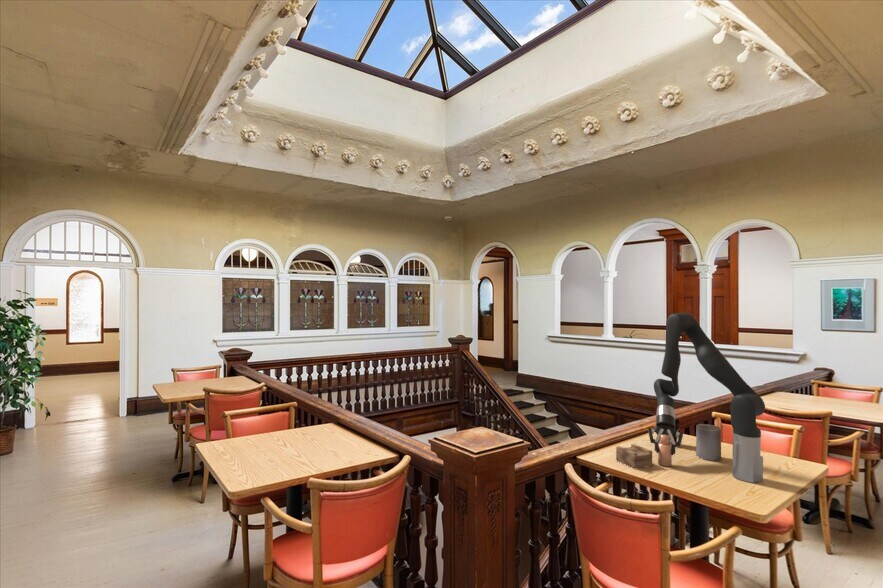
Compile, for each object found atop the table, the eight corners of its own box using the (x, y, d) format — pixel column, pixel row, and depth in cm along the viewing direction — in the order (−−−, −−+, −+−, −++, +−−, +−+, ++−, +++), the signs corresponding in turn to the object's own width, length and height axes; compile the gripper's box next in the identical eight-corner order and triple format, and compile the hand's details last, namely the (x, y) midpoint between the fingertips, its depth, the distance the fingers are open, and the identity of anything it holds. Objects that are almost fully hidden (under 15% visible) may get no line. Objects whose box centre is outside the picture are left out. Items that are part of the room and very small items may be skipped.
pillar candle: (710, 453, 211) (710, 420, 211) (726, 461, 201) (726, 426, 201) (691, 454, 210) (691, 421, 210) (705, 461, 200) (705, 427, 200)
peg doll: (674, 465, 193) (674, 436, 193) (665, 466, 191) (665, 437, 191) (664, 461, 198) (664, 433, 198) (655, 462, 196) (655, 434, 196)
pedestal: (652, 465, 193) (652, 451, 193) (634, 468, 189) (634, 453, 189) (633, 458, 202) (633, 443, 202) (616, 460, 198) (616, 446, 198)
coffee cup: (675, 441, 227) (676, 415, 227) (682, 447, 219) (683, 420, 219) (657, 441, 228) (657, 414, 228) (663, 446, 220) (664, 419, 220)
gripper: (647, 411, 205) (646, 445, 194) (684, 415, 198) (684, 451, 187) (648, 420, 209) (646, 454, 198) (683, 424, 203) (683, 460, 192)
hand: (664, 452), depth 193 cm, fingers closed on peg doll, 5 cm apart
